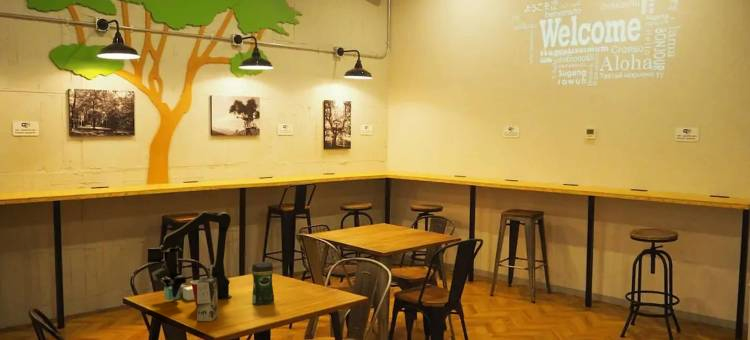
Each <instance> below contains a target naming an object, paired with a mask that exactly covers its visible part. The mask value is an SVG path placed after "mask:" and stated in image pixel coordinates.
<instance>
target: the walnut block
mask: <svg viewBox="0 0 750 340" xmlns="http://www.w3.org/2000/svg"><path fill="white" fill-rule="evenodd" d="M185 287H188V285H186V284H184V283H182V285H181V287H180V288H179V297H180V298H183V288H185ZM180 298H179V299H180Z"/></svg>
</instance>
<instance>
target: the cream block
mask: <svg viewBox="0 0 750 340" xmlns="http://www.w3.org/2000/svg"><path fill="white" fill-rule="evenodd" d="M182 299H184V300H187V301H192V300H195V299H194V293H193V289H192V285H191V286H187V287H185V288H183V297H182Z"/></svg>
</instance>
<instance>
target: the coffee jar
mask: <svg viewBox="0 0 750 340" xmlns="http://www.w3.org/2000/svg"><path fill="white" fill-rule="evenodd" d="M251 267H252V268H251V275H252V278H253V279H252V280H253V283H252V285H253V286H252V300H251V301H252V304H253V305H256V306H265V305H270V304H273V303H274V302H275V293H274V287H273V274H274V267H273V263H272V262H271V261H260V262H259V261H258V262H253V263H252V265H251Z"/></svg>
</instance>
